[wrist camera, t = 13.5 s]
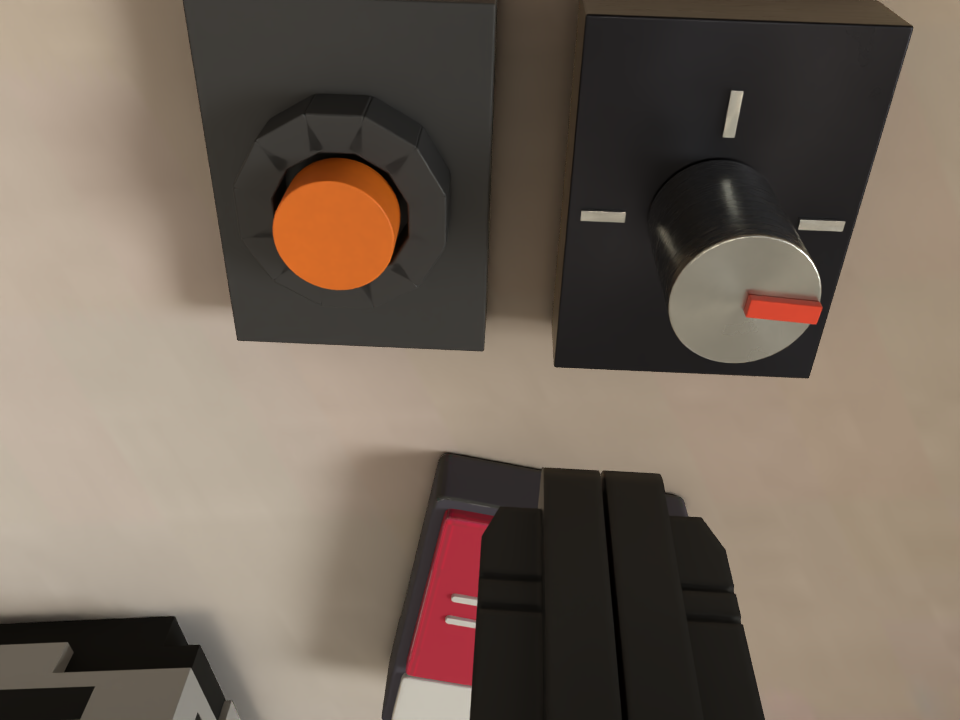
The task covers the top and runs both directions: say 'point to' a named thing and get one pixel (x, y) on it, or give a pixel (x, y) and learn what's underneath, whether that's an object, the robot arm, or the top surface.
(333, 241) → the button
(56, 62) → the top surface
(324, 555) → the top surface
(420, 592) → the calculator
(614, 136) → the dial panel
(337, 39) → the button block
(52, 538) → the top surface
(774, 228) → the dial
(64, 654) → the game console
